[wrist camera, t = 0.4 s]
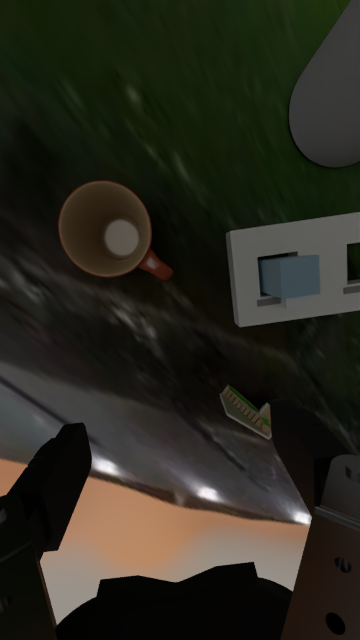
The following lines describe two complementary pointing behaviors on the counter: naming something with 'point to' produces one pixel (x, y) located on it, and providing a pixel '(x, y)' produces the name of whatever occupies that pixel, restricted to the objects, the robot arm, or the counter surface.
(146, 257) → the mug
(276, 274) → the plug
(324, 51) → the cylinder vase
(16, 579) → the robot arm
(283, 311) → the port panel
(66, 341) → the counter surface
